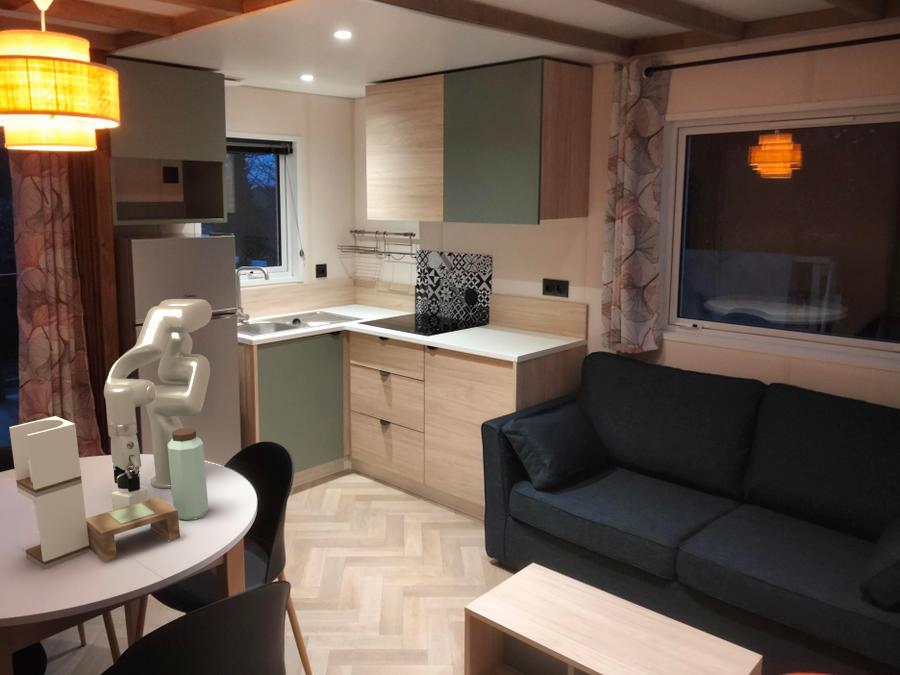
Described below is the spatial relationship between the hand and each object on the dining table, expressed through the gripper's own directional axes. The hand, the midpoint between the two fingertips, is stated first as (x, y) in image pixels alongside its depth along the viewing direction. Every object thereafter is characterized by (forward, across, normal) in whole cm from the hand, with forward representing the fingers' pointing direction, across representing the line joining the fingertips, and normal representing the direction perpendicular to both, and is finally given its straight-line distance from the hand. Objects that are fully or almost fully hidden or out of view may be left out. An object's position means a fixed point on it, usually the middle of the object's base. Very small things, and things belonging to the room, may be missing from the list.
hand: (127, 486), depth 228 cm
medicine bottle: (+9, +1, -1) cm, 9 cm away
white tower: (+10, -11, +23) cm, 27 cm away
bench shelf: (+9, -18, +6) cm, 21 cm away
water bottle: (+9, -12, -13) cm, 20 cm away
